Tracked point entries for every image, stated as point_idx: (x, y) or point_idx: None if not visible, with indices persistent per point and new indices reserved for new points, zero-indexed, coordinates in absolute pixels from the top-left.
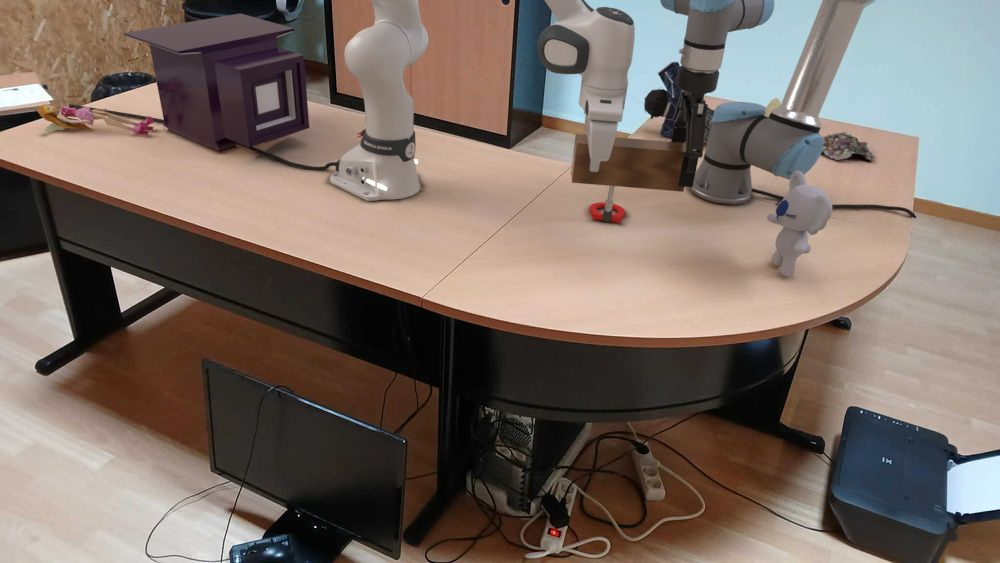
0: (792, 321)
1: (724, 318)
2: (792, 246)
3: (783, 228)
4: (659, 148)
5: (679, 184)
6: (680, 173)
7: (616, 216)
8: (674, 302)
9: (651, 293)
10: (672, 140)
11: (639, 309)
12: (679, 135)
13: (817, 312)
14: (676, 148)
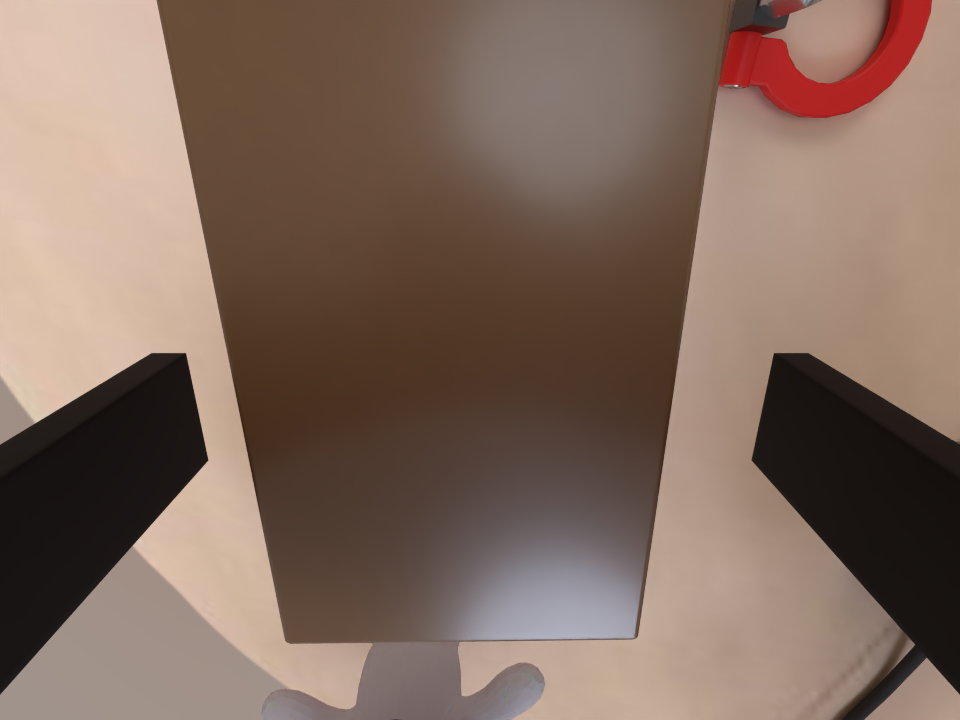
0: (147, 559)
1: (84, 389)
2: (359, 683)
3: (432, 697)
4: (250, 163)
5: (141, 363)
6: (98, 402)
7: (745, 57)
8: (117, 243)
9: (149, 163)
10: (915, 454)
11: (11, 97)
12: (953, 579)
13: (218, 621)
14: (369, 472)
